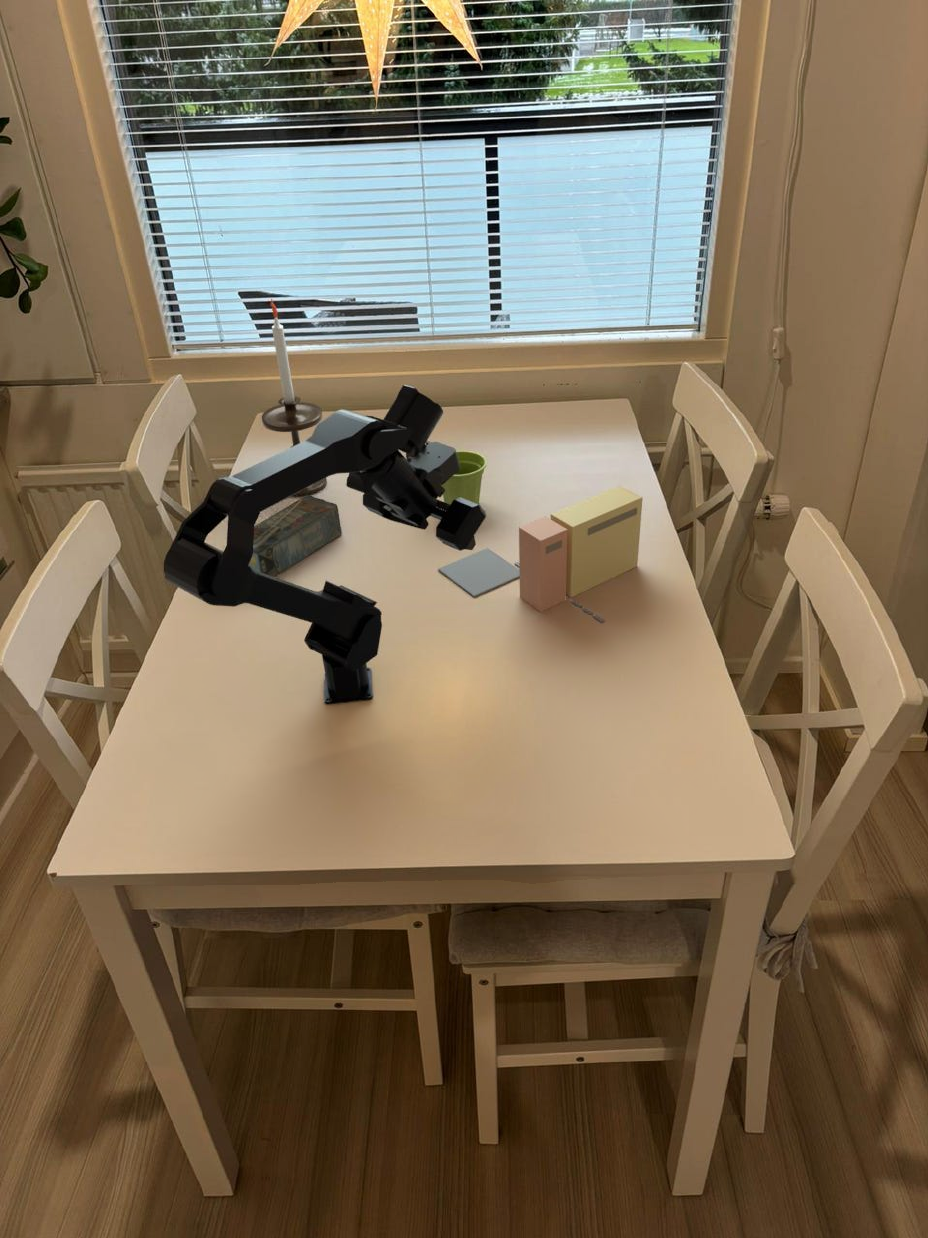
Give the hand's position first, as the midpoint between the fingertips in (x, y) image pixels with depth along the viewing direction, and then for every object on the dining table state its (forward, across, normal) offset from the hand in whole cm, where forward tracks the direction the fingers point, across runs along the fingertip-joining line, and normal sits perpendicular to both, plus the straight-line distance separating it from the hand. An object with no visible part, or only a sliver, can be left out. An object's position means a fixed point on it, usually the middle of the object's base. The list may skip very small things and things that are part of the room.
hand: (449, 536), depth 132 cm
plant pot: (+26, +22, -13) cm, 37 cm away
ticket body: (+24, -10, -10) cm, 28 cm away
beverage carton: (+9, +35, +12) cm, 38 cm away
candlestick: (+18, +52, -3) cm, 55 cm away
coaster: (+18, +5, -1) cm, 18 cm away
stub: (+18, -8, -2) cm, 20 cm away
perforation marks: (+20, -8, -4) cm, 22 cm away
